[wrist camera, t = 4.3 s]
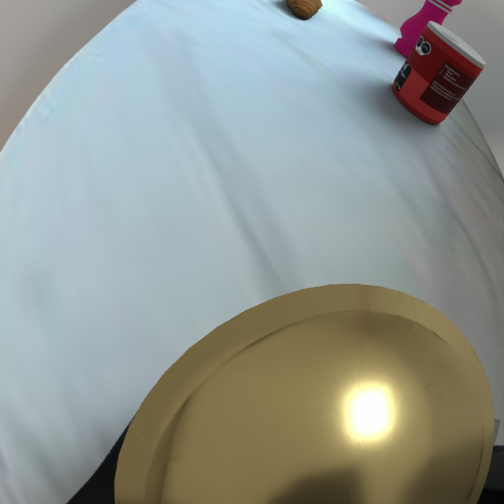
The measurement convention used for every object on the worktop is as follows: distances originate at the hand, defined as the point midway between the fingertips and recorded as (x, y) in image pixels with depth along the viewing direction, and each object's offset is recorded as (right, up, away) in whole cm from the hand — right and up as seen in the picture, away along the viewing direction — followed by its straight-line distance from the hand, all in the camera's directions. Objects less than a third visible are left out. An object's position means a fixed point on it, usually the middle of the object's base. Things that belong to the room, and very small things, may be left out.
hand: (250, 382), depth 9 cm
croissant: (+8, +45, +29) cm, 54 cm away
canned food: (+21, +22, +22) cm, 37 cm away
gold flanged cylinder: (-1, -4, +5) cm, 7 cm away
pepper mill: (+27, +38, +30) cm, 56 cm away
